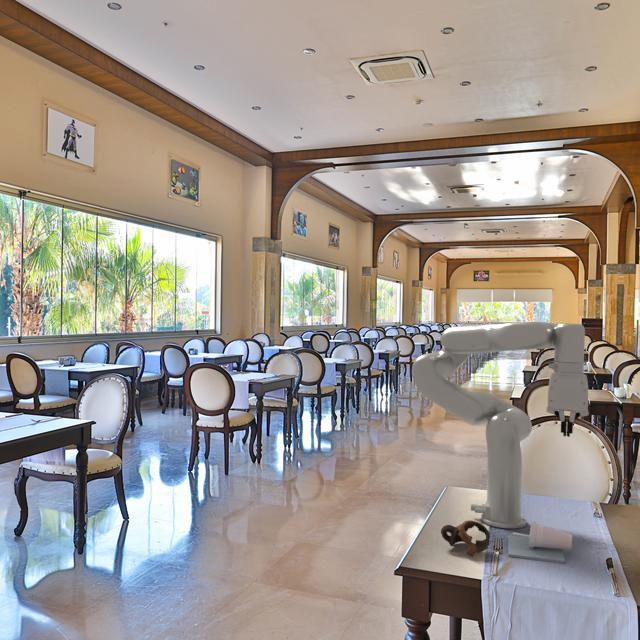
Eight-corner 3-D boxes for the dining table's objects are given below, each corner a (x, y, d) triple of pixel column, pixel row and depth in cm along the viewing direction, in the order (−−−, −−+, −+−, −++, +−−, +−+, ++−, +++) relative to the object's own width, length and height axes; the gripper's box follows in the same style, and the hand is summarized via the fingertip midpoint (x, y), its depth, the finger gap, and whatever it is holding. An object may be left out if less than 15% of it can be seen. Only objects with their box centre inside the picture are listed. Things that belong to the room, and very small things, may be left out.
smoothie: (569, 554, 154) (511, 543, 158) (570, 528, 155) (513, 517, 160) (571, 556, 148) (511, 544, 152) (573, 528, 150) (514, 518, 154)
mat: (508, 556, 150) (508, 553, 150) (507, 537, 163) (507, 535, 163) (565, 563, 146) (565, 560, 146) (559, 543, 159) (559, 541, 159)
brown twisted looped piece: (479, 544, 159) (491, 522, 155) (483, 573, 151) (495, 550, 147) (435, 531, 159) (445, 508, 156) (436, 559, 151) (447, 536, 147)
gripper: (539, 367, 165) (536, 435, 165) (599, 371, 159) (597, 441, 159) (540, 366, 172) (537, 430, 172) (598, 369, 166) (595, 436, 166)
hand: (566, 435), depth 166 cm, fingers closed
